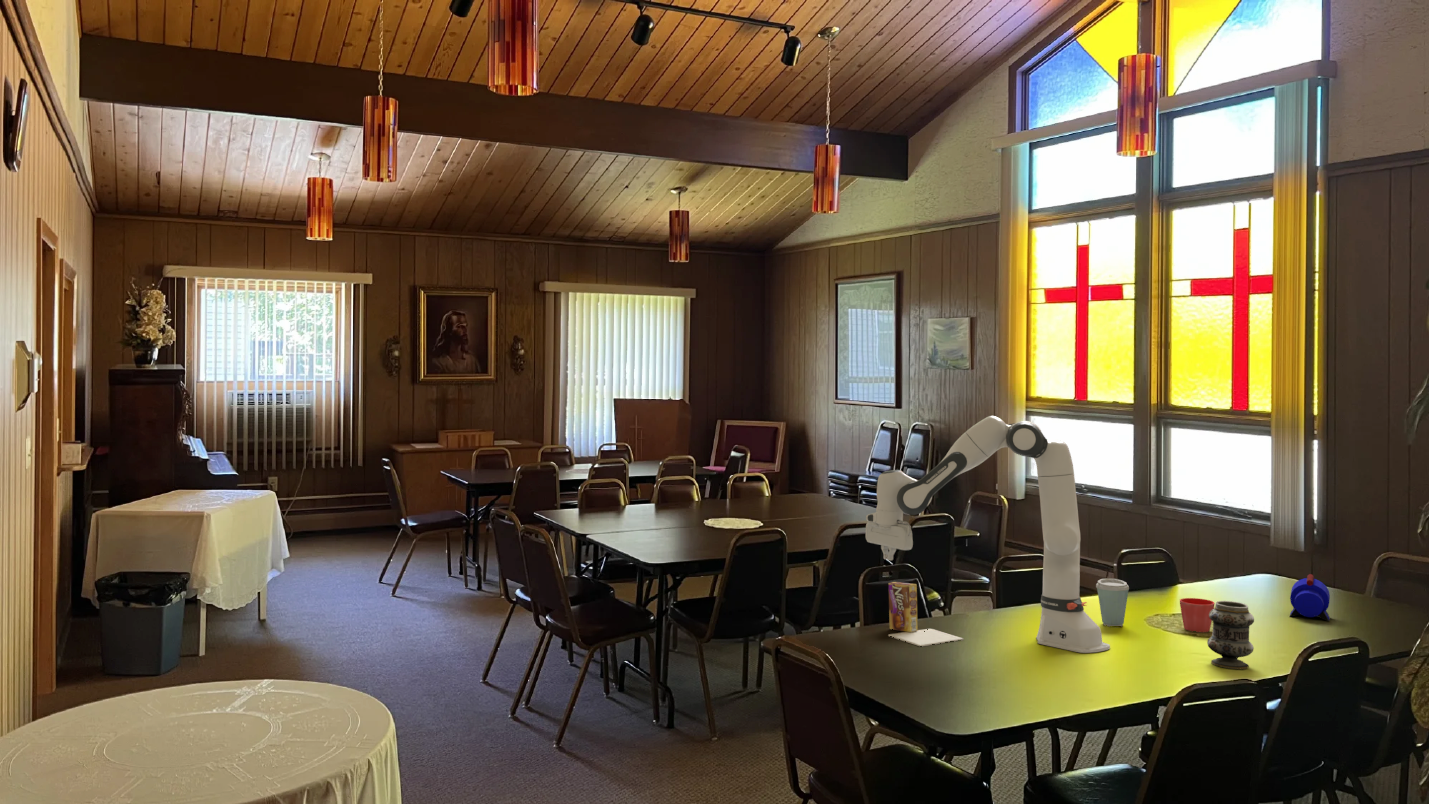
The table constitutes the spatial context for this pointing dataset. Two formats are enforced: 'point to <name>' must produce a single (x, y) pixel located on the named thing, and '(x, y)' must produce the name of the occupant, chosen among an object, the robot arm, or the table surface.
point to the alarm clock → (1310, 598)
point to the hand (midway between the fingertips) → (888, 559)
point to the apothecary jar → (1230, 634)
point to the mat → (925, 637)
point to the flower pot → (1196, 614)
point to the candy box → (903, 606)
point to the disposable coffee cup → (1112, 601)
